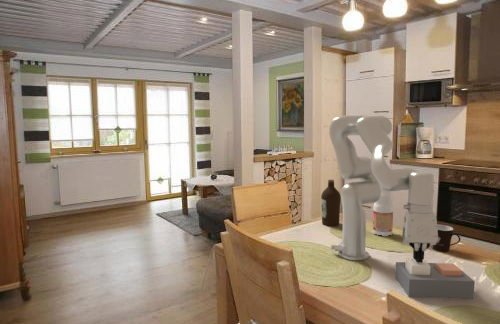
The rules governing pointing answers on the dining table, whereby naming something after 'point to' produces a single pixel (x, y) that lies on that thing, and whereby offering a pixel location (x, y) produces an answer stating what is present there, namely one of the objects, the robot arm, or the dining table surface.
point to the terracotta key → (448, 269)
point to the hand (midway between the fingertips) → (418, 260)
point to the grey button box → (434, 284)
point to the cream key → (417, 267)
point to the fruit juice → (383, 214)
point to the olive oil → (330, 205)
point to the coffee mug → (444, 238)
